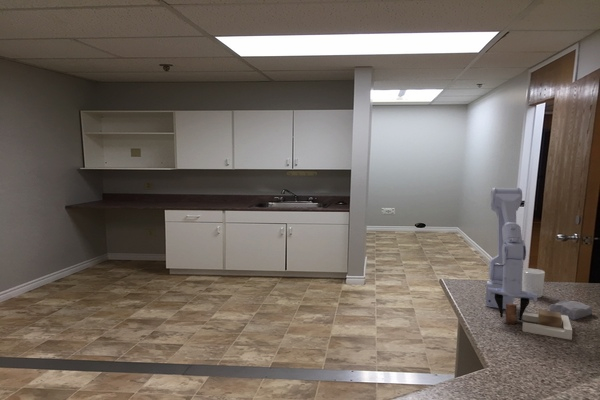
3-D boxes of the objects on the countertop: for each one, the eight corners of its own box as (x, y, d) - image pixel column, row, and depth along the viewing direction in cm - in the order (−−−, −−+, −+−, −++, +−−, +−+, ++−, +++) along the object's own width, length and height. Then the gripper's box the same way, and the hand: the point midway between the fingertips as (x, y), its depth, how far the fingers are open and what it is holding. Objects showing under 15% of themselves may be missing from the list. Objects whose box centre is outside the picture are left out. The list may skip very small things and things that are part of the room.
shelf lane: (522, 331, 127) (522, 322, 127) (522, 317, 138) (522, 309, 138) (571, 339, 121) (572, 330, 121) (567, 324, 132) (567, 315, 132)
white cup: (522, 290, 167) (523, 267, 166) (544, 294, 163) (545, 270, 162) (519, 295, 161) (520, 271, 160) (542, 299, 156) (543, 274, 155)
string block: (505, 323, 133) (506, 306, 132) (505, 318, 137) (506, 301, 137) (560, 333, 126) (561, 314, 125) (559, 327, 130) (560, 309, 129)
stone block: (546, 317, 144) (576, 321, 135) (544, 303, 144) (574, 306, 135) (565, 312, 149) (595, 316, 140) (564, 299, 150) (593, 302, 141)
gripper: (487, 278, 133) (486, 318, 134) (538, 284, 126) (536, 326, 127) (489, 273, 139) (487, 311, 140) (537, 279, 132) (535, 318, 134)
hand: (510, 318), depth 134 cm, fingers open, 5 cm apart
